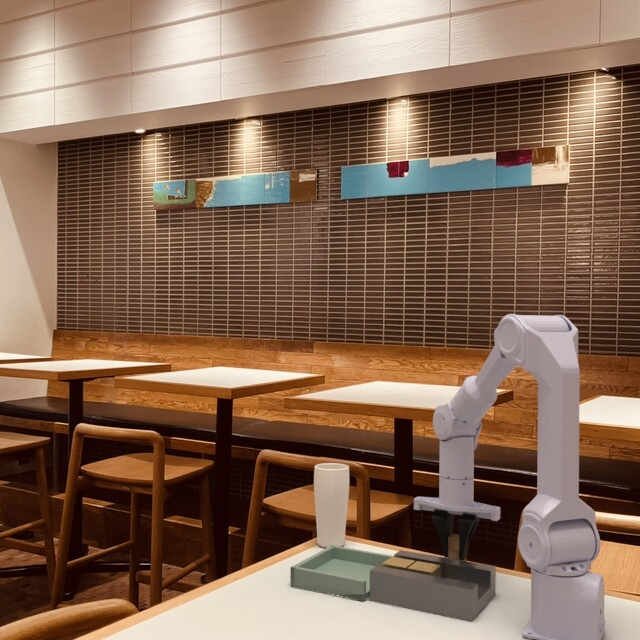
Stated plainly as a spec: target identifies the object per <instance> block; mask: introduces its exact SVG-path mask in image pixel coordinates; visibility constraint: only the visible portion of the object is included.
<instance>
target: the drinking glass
mask: <svg viewBox="0 0 640 640" xmlns="http://www.w3.org/2000/svg"><path fill="white" fill-rule="evenodd" d="M313 470H314V471H313V495H314V506H315V520H316V542H317V545H318V546H319V547H322V548H324V549H326V548H328V547H330V546H331V545H333V546H339V547H344V545H345V543H346V528H347V527H346V526H347V516H348V506H349V496H350V466H349V465H348V464H344V463H334V462H327V463H326V462H324V463H318V464H315V465H314V469H313Z"/></svg>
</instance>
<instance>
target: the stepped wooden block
mask: <svg viewBox="0 0 640 640" xmlns="http://www.w3.org/2000/svg"><path fill="white" fill-rule="evenodd" d="M448 558H450V559H456V560H459V534H456V533H452V534H451V535H450V536H448ZM462 561H467V558H466V559H464V560H462Z"/></svg>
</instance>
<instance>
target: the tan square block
mask: <svg viewBox="0 0 640 640" xmlns="http://www.w3.org/2000/svg"><path fill="white" fill-rule="evenodd" d="M407 571H409V572H415V573H420V574H426V575H431V576H437V577H441V565H437V564H431V563H425V562H419V561H416V562H415V563H414V564H412V565H411V566H410V567H408V568H407Z"/></svg>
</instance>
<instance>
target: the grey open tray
mask: <svg viewBox="0 0 640 640" xmlns="http://www.w3.org/2000/svg"><path fill="white" fill-rule="evenodd" d="M393 556H394V557H397V558H402V559H408V560H414V561H415V562H416V561H419V562H425V563H431V564H437V565H441V577H437V576H431V575H426V574H420V573H415V572H409V571H404V570H399V569H393V568H388V567H382V566H376V567H374V568H373V569H371V570H370V597H369V601H371V600H373V601H372V602H376V601H378V603H381V602H382V604H386V603H387V605H390V604H392V606H395V605H397V606H396V607H400V606H401V607H400V608H405V607H406V609H409V608H410V610H414V609H415V610H414V611H419V610H420V612H424V613H430V614H433V615H438V616H443V615H444V616H443V617H448V616H450V617H449V618H453V617H455V618H454V619H457V618H460V619H459V620H462V619H463V620H462V621H467V622H473V620H475V618H476V617H478V615H479V614H480V613H481V612H482V611H483V610H484V609H485V608H486V606H487V605H488V604H489V603H490V602H491V601H492V600H493V599H494V597H495V596H496V588H497V587H496V578H497V577H496V576H497V573H496V572H497V570H496V569H497V565H491V564H485V563H479V562H474V561H468V560H466V561H462V560H456V559H450V558H446V557H444V556H438V555H433V554H431V555H430V554H427V553H426V554H425V553H421V552H414V551H410V550H409V551H408V550H402V549H401V550H400V549H399V551H397V552H396V553H394V555H393Z"/></svg>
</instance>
